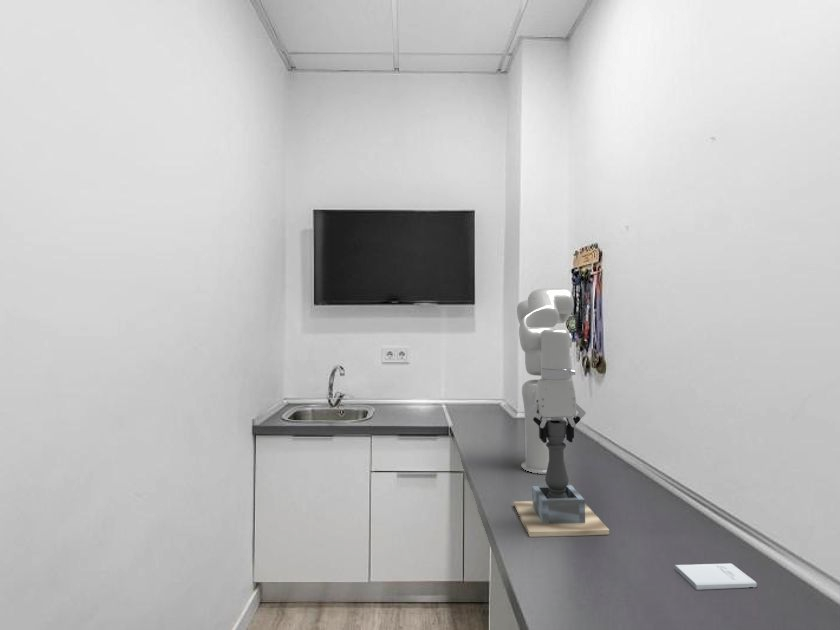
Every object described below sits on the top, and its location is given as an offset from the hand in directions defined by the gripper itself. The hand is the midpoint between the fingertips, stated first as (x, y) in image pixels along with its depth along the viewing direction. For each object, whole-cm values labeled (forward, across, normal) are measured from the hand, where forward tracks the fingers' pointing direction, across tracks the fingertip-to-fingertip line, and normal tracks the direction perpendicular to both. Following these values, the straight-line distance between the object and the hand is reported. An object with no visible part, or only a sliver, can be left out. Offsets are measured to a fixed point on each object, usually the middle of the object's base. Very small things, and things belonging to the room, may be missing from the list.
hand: (556, 440), depth 135 cm
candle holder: (+20, 0, 0) cm, 20 cm away
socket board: (+21, 0, 0) cm, 21 cm away
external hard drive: (+22, -24, +31) cm, 45 cm away
